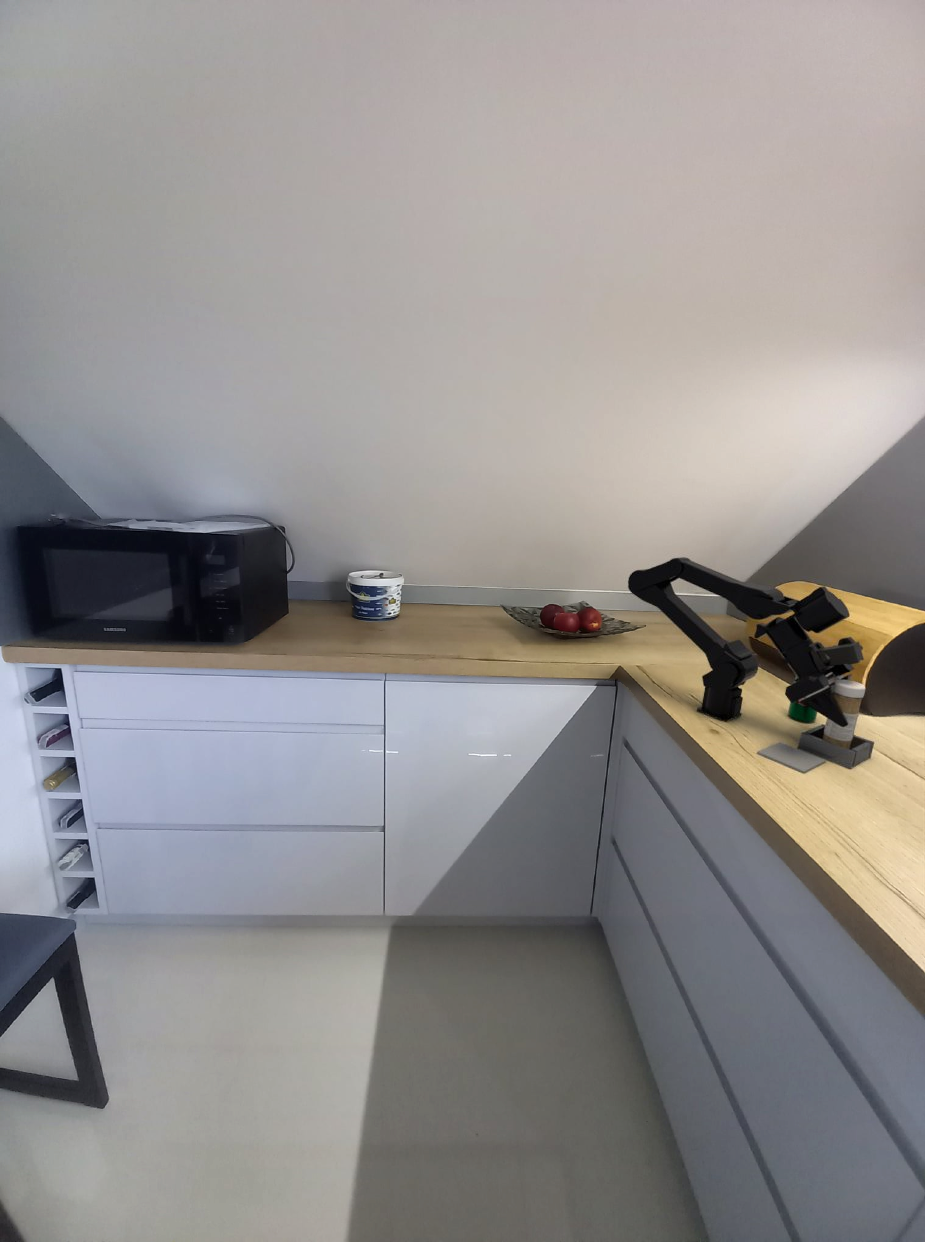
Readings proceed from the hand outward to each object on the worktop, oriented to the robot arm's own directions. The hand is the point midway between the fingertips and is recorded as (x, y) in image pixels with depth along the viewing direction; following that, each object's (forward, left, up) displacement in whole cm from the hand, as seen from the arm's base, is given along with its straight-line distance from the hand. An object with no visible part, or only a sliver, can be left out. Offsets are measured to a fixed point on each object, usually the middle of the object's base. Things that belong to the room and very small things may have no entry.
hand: (850, 721), depth 100 cm
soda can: (-12, +11, -7) cm, 18 cm away
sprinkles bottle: (-1, 0, -7) cm, 7 cm away
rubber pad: (-4, -10, -7) cm, 13 cm away
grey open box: (-1, 0, -7) cm, 7 cm away
